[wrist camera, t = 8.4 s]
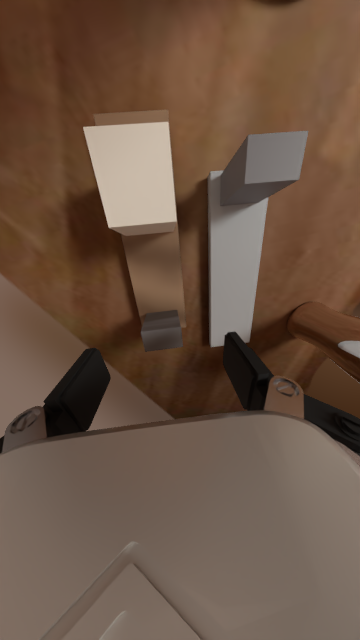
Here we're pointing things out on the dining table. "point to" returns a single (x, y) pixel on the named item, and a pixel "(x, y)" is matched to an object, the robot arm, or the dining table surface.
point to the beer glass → (329, 334)
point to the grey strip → (244, 225)
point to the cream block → (134, 176)
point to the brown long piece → (154, 263)
